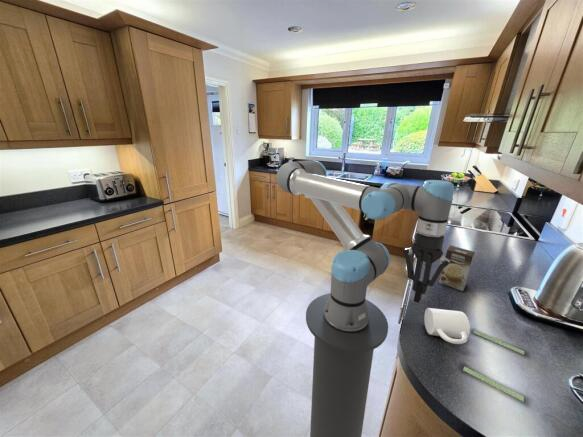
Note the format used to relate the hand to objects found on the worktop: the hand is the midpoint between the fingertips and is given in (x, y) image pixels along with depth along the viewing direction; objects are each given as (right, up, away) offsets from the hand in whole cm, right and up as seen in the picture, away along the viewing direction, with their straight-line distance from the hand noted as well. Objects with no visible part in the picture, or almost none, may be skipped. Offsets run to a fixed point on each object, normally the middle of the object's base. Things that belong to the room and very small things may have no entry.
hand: (417, 300), depth 79 cm
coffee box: (+28, -2, +25) cm, 37 cm away
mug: (+7, -11, -3) cm, 13 cm away
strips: (+16, -13, -11) cm, 24 cm away
